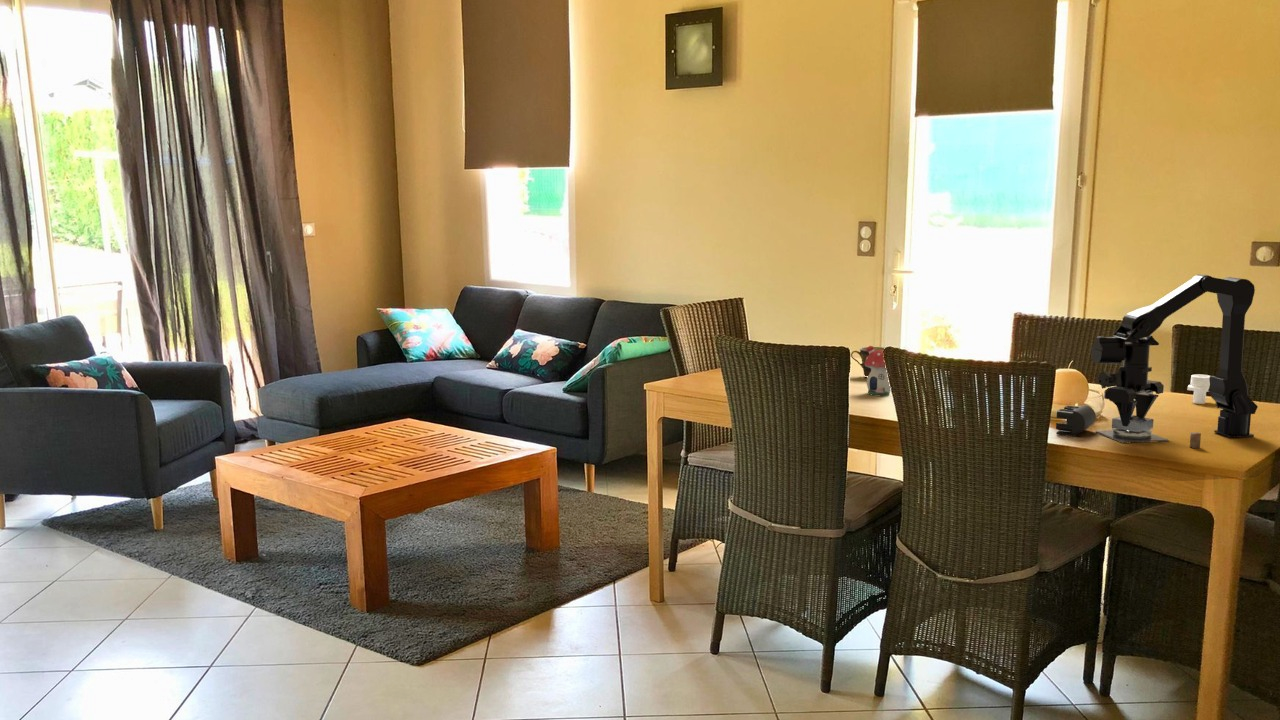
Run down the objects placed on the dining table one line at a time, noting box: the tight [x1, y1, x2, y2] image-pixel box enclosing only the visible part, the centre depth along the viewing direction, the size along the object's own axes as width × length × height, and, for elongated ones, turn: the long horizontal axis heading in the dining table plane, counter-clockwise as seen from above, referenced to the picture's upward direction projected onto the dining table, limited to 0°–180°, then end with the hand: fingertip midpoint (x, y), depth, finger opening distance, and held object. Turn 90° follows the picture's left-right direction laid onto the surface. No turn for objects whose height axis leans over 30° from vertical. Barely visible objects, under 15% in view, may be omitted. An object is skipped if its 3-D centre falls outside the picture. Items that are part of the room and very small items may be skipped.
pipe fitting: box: [1187, 374, 1211, 405], centre depth 297 cm, size 6×7×8 cm
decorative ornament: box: [865, 345, 891, 396], centre depth 317 cm, size 9×7×15 cm
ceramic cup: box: [850, 346, 885, 376], centre depth 347 cm, size 13×10×10 cm
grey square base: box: [1111, 416, 1155, 432], centre depth 256 cm, size 7×7×2 cm
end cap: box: [1055, 404, 1097, 437], centre depth 262 cm, size 10×7×7 cm
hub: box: [1095, 414, 1170, 444], centre depth 257 cm, size 12×12×5 cm
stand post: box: [1189, 431, 1202, 449], centre depth 245 cm, size 2×2×4 cm
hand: (1132, 424), depth 256 cm, fingers closed on grey square base, 7 cm apart
